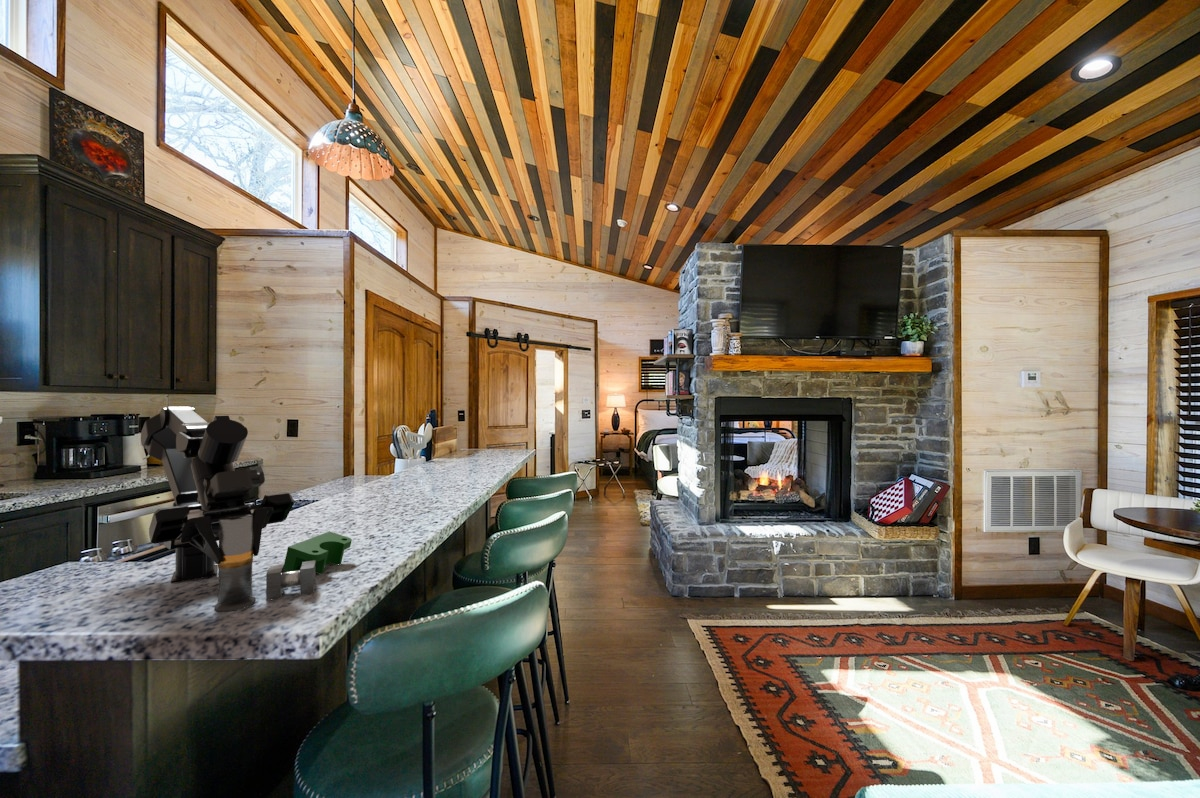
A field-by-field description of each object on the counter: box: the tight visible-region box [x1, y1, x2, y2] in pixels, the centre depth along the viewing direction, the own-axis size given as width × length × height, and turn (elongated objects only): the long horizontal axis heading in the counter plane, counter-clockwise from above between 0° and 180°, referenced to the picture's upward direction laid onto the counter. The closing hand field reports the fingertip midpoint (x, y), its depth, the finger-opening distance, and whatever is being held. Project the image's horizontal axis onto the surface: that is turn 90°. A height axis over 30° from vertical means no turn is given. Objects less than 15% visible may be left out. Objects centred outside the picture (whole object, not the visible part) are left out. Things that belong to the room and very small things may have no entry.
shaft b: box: [265, 560, 317, 601], centre depth 84 cm, size 7×4×4 cm, turn 117°
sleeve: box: [217, 514, 254, 603], centre depth 79 cm, size 5×5×13 cm
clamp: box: [283, 530, 353, 575], centre depth 97 cm, size 12×6×9 cm, turn 166°
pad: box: [213, 595, 257, 613], centre depth 79 cm, size 5×5×1 cm
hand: (238, 558), depth 79 cm, fingers open, 5 cm apart
